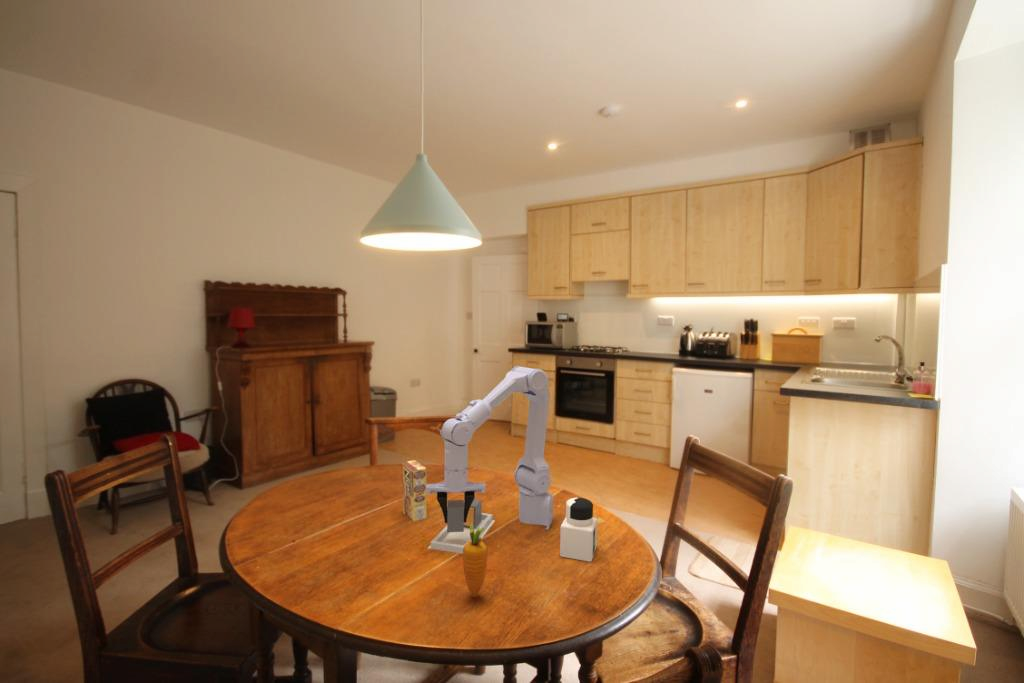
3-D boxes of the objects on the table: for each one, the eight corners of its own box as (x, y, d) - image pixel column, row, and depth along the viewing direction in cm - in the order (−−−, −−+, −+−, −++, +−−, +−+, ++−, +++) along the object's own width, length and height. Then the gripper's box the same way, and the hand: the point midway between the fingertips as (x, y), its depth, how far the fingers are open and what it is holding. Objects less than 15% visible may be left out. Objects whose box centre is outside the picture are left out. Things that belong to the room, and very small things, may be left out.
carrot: (462, 590, 98) (463, 520, 97) (486, 589, 99) (487, 520, 98) (462, 605, 93) (462, 531, 92) (487, 604, 94) (487, 531, 93)
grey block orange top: (447, 532, 114) (447, 508, 114) (447, 522, 119) (447, 499, 119) (463, 531, 114) (463, 507, 114) (463, 522, 120) (463, 499, 119)
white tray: (495, 523, 130) (495, 514, 130) (469, 558, 111) (469, 548, 111) (458, 518, 133) (458, 510, 133) (427, 552, 114) (427, 542, 114)
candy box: (427, 521, 131) (427, 467, 130) (413, 524, 129) (413, 470, 128) (415, 510, 139) (415, 459, 138) (401, 513, 136) (401, 461, 136)
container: (596, 547, 117) (597, 497, 117) (591, 562, 110) (592, 508, 109) (566, 542, 120) (567, 493, 119) (559, 556, 113) (560, 504, 112)
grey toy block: (481, 521, 130) (481, 499, 129) (474, 529, 124) (474, 507, 124) (468, 519, 131) (468, 498, 130) (460, 527, 125) (460, 505, 125)
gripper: (484, 462, 121) (483, 513, 121) (427, 463, 119) (427, 515, 120) (485, 470, 114) (485, 525, 114) (425, 472, 112) (425, 527, 113)
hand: (455, 521), depth 117 cm, fingers closed on grey block orange top, 4 cm apart
